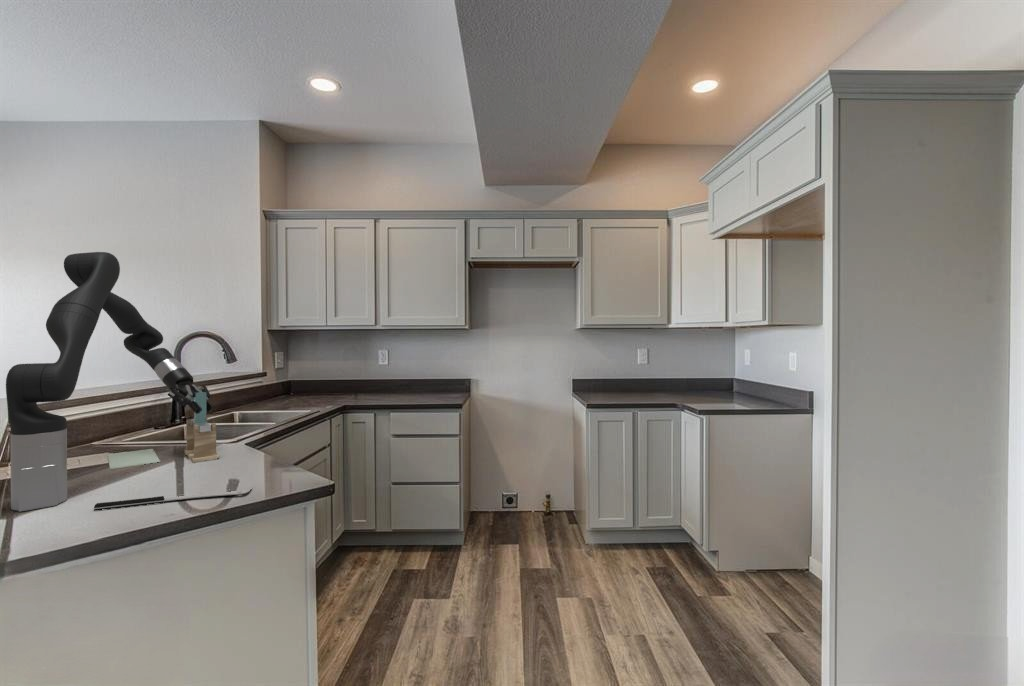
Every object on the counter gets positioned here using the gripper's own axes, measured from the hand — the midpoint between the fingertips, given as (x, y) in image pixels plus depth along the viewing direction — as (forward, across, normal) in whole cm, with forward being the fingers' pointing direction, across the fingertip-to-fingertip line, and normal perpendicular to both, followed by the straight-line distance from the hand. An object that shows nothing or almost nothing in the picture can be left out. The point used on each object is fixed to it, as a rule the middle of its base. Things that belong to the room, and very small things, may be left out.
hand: (205, 410), depth 152 cm
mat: (-4, -6, +26) cm, 27 cm away
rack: (+10, 0, +12) cm, 15 cm away
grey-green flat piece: (+3, 0, +6) cm, 6 cm away
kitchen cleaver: (+31, -38, -8) cm, 50 cm away
